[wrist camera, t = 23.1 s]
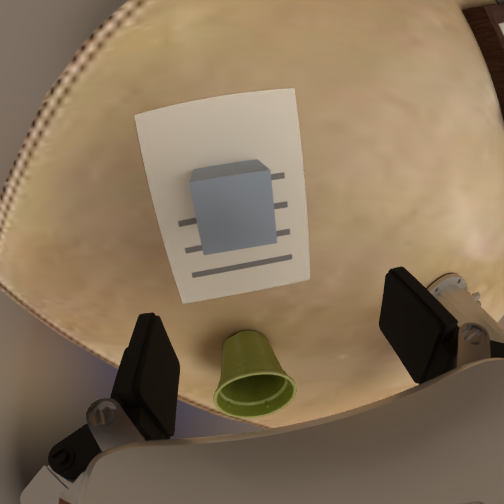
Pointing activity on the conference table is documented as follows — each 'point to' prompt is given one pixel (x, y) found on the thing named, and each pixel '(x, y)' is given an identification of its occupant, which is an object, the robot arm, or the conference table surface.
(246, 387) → the plant pot
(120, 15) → the conference table surface
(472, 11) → the brown gift box
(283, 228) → the letter
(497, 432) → the robot arm
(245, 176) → the cube
